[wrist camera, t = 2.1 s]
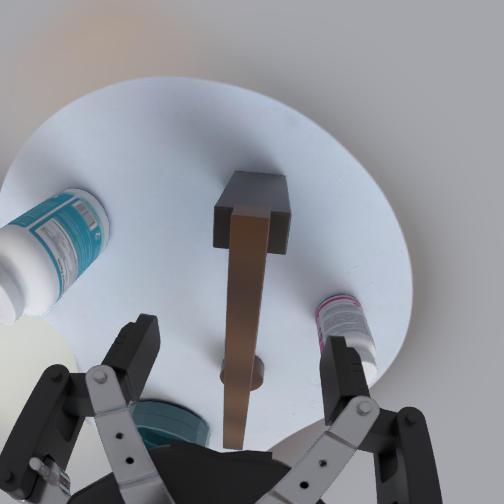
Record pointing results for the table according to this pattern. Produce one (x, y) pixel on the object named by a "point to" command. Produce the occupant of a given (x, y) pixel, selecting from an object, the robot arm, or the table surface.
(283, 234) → the dark grey rubber eraser
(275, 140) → the table surface
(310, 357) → the table surface
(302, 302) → the table surface
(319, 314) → the pill bottle
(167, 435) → the bowl
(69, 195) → the pill bottle
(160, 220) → the table surface
